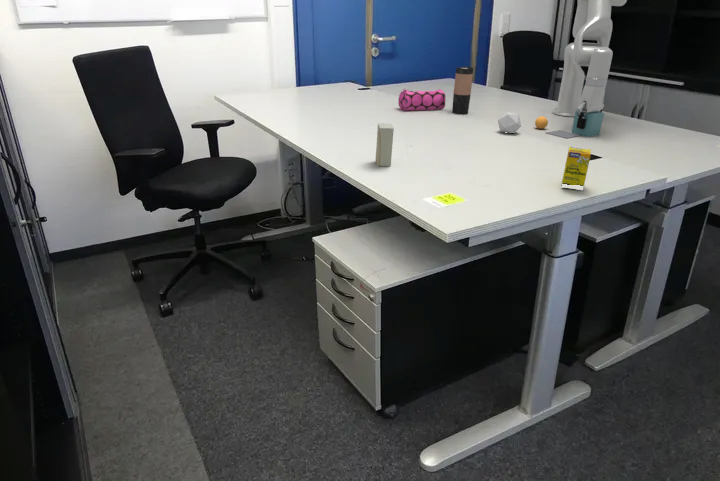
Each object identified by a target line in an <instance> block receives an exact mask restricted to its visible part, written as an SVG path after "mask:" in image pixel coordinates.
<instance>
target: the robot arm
mask: <svg viewBox="0 0 720 481" xmlns="http://www.w3.org/2000/svg"><path fill="white" fill-rule="evenodd" d="M627 1H628V0H577V7H576V11H575V12H576V13H575V17H574V21H573V22H574V23H573V27H572V36H573V38H574V41H573V42H570V43H569V44H567V45H566V47H565V49H564V57H563V58H564V59H563V61H564V62H563V63H564V64H563V71H562V77H561V83H560V88H559V93H558V100H557V104H556V105H557V106H556V109H552V113H553V115H558V116H562V117H563V116H564V117H573V118H574V117H575V112H576V111H577V112H578V113H577V114H578V121H577V126H576V127H577V128H580V129H584V127H585V123H586V119H585V118H586V116H587V114H588V113H593V112H603V109H604V107H605V104H604V100H605V93H606V88H607V82H608V77H609V74H610V69H611V64H612V60H613V55H614V54H613V50H612V49H611V48H610V47H609V46H610V41H611V37H612V32H613V20H612V19H611V15H612V7H613V6H614V7H622V6H624V5H625V4H626V3H627ZM583 40H587V41H596V42H597V43H595V42H583ZM582 67H588V70H587V74H586V77H585V71H584V70H583V69H582ZM585 78H586V79H585ZM584 82H585V84H584ZM583 113H585V114H583Z"/></svg>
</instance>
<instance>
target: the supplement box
mask: <svg viewBox="0 0 720 481" xmlns="http://www.w3.org/2000/svg"><path fill="white" fill-rule="evenodd" d="M567 151H568V152H567V154H566V155H567V156H566V161H565V166H564V171H563V176H562V180H561V185H562V184H567V185H580V186H585V182H586V178H587V173H588V169H589V164H590V160H591V154H592V152H591V151H592V150H591V149H590V148H589V149H588V148H582V147H581V148H580V147H573V146H569V147H568V150H567Z"/></svg>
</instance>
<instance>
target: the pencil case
mask: <svg viewBox="0 0 720 481" xmlns="http://www.w3.org/2000/svg"><path fill="white" fill-rule="evenodd" d="M397 104H398V106H399V109H400V110H401V111H405V112H407V111H409V112H410V111H434V110H444V109H445V107H446V94H445V92H444V90H442V89H437V90H416V91H415V90H414V91H413V90H410V89H405V88H403V90H402V91H401V92H400V93H399V95H398V103H397Z"/></svg>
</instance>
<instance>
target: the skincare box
mask: <svg viewBox="0 0 720 481" xmlns="http://www.w3.org/2000/svg"><path fill="white" fill-rule="evenodd" d="M394 129H395V128H394V126H393V124H392V123H380V122H379V123H377V132H376V134H377V135H376V136H377V137H376V147H375V163H376V165H377V167H391V166H392V152H393V141H394Z"/></svg>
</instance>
